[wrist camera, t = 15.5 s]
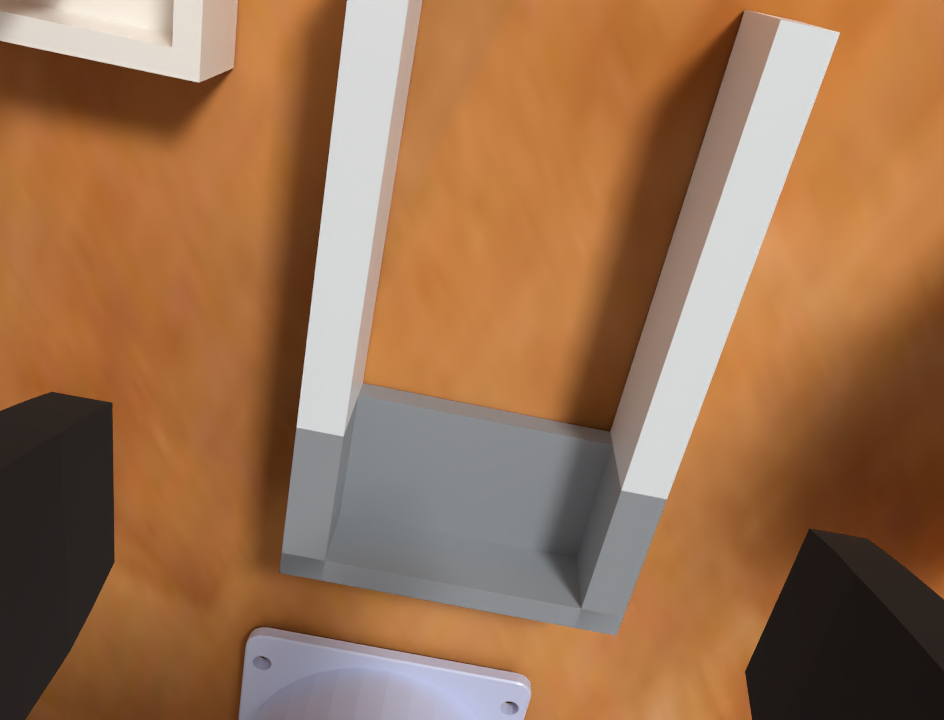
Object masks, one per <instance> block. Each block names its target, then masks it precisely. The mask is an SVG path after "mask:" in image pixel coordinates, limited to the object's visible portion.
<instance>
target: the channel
mask: <svg viewBox="0 0 944 720" xmlns="http://www.w3.org/2000/svg"><path fill="white" fill-rule="evenodd" d="M422 1H423V0H347V6H346V14H345V23H344V31H343V40H342V48H341V56H340V65H339V73H338V82H337V90H336V99H335V107H334V116H333V124H332V132H331V141H330V149H329V158H328V166H327V175H326V183H325V191H324V200H323V208H322V217H321V225H320V234H319V242H318V251H317V259H316V267H315V276H314V284H313V293H312V301H311V310H310V318H309V326H308V335H307V343H306V352H305V360H304V369H303V377H302V386H301V394H300V402H299V411H298V419H297V428H302V429H307V430H312V431H317V432H322V433H327V434H333V435H338V436H343V437H344V434H345V431H346V429H347V426H348V423H349V420H350V417H351V415H352V412H353V409H354V406H355V403H356V401H357V398H358V395H359V392H360V389H361V387H362V384H363V378H364V372H365V365H366V359H367V353H368V346H369V340H370V333H371V327H372V321H373V314H374V308H375V301H376V295H377V289H378V282H379V276H380V269H381V263H382V257H383V250H384V244H385V237H386V231H387V225H388V218H389V212H390V205H391V199H392V193H393V186H394V180H395V173H396V167H397V161H398V154H399V148H400V141H401V135H402V129H403V122H404V116H405V109H406V103H407V97H408V90H409V84H410V77H411V71H412V65H413V58H414V52H415V45H416V39H417V33H418V26H419V20H420V13H421V7H422ZM839 34H840V32H836V31H832V30H829V29H825V28H821V27H818V26H814V25H810V24H806V23H803V22H799V21H795V20H791V19H786V18H782V17H777V16H772V15H768V14H763V13H759V12H754V11H750V10H745V11H744V14H743V18H742V21H741V24H740V27H739V30H738V33H737V36H736V39H735V43H734V46H733V49H732V52H731V55H730V58H729V61H728V65H727V68H726V71H725V74H724V77H723V80H722V83H721V86H720V90H719V93H718V96H717V99H716V102H715V105H714V108H713V112H712V115H711V118H710V121H709V124H708V127H707V130H706V134H705V137H704V140H703V143H702V146H701V149H700V152H699V155H698V159H697V162H696V165H695V168H694V171H693V174H692V177H691V181H690V184H689V187H688V190H687V193H686V196H685V199H684V202H683V206H682V209H681V212H680V215H679V218H678V221H677V224H676V228H675V231H674V234H673V237H672V240H671V243H670V246H669V249H668V253H667V256H666V259H665V262H664V265H663V268H662V271H661V275H660V278H659V281H658V284H657V287H656V290H655V293H654V296H653V300H652V303H651V306H650V309H649V312H648V315H647V318H646V322H645V325H644V328H643V331H642V334H641V337H640V340H639V344H638V347H637V350H636V353H635V356H634V359H633V362H632V365H631V369H630V372H629V375H628V378H627V381H626V384H625V387H624V391H623V394H622V397H621V400H620V403H619V406H618V409H617V412H616V416H615V419H614V422H613V425H612V428H611V431H610V433H611V438H612V443H613V449H614V454H615V459H616V465H617V470H618V475H619V481H620V486H621V491H627V492H632V493H637V494H642V495H647V496H652V497H658V498H663V499H667V498H668V495H669V492H670V490H671V487H672V484H673V482H674V479H675V476H676V473H677V471H678V468H679V465H680V463H681V460H682V457H683V455H684V452H685V449H686V447H687V444H688V441H689V438H690V436H691V433H692V430H693V428H694V425H695V422H696V420H697V417H698V414H699V411H700V409H701V406H702V403H703V401H704V398H705V395H706V393H707V390H708V387H709V385H710V382H711V379H712V376H713V374H714V371H715V368H716V366H717V363H718V360H719V358H720V355H721V352H722V350H723V347H724V344H725V341H726V339H727V336H728V333H729V331H730V328H731V325H732V323H733V320H734V317H735V315H736V312H737V309H738V306H739V304H740V301H741V298H742V296H743V293H744V290H745V288H746V285H747V282H748V279H749V277H750V274H751V271H752V269H753V266H754V263H755V261H756V258H757V255H758V253H759V250H760V247H761V244H762V242H763V239H764V236H765V234H766V231H767V228H768V226H769V223H770V220H771V218H772V215H773V212H774V209H775V207H776V204H777V201H778V199H779V196H780V193H781V191H782V188H783V185H784V182H785V180H786V177H787V174H788V172H789V169H790V166H791V164H792V161H793V158H794V156H795V153H796V150H797V147H798V145H799V142H800V139H801V137H802V134H803V131H804V129H805V126H806V123H807V121H808V118H809V115H810V112H811V110H812V107H813V104H814V102H815V99H816V96H817V94H818V91H819V88H820V85H821V83H822V80H823V77H824V75H825V72H826V69H827V67H828V64H829V61H830V59H831V56H832V53H833V50H834V48H835V45H836V42H837V40H838V37H839Z"/></svg>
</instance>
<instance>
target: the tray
mask: <svg viewBox="0 0 944 720" xmlns="http://www.w3.org/2000/svg"><path fill="white" fill-rule="evenodd" d="M237 8H238V0H0V41H4V42H8V43H13V44H18V45H23V46H27V47H32V48H37V49H42V50H46V51H51V52H56V53H61V54H65V55H70V56H75V57H80V58H84V59H89V60H94V61H99V62H103V63H108V64H113V65H118V66H122V67H127V68H132V69H137V70H142V71H146V72H151V73H156V74H161V75H165V76H170V77H175V78H180V79H184V80H189V81H194V82H199V83H200V82H202V81H204V80H207V79H209V78H211V77H214V76H216V75H218V74H221V73H223V72H225V71H228V70H230V69H232V68H234V55H235V39H236V24H237Z"/></svg>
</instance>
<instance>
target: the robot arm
mask: <svg viewBox="0 0 944 720" xmlns="http://www.w3.org/2000/svg"><path fill="white" fill-rule="evenodd" d="M113 564H114V493H113V419H112V403H110V402H105V401H99V400H94V399H88V398H83V397H77V396H72V395H66V394H60V393H55V392H50V393H47V394H44V395H41V396H38V397H35V398H32V399H30V400H27V401H24V402H22V403H19V404H17V405H14V406H12V407H9V408H7V409H4V410H2V411H0V720H25V719H26V717H27V716H28V714H29V713H30V711H31V710H32V708H33V707H34V705H35V704H36V702H37V701H38V699H39V698H40V696H41V695H42V693H43V692H44V690H45V689H46V687H47V685H48V684H49V682H50V681H51V679H52V678H53V676H54V675H55V673H56V672H57V670H58V669H59V667H60V666H61V664H62V663H63V661H64V659H65V658H66V656H67V655H68V653H69V652H70V650H71V648H72V646H73V644H74V642H75V641H76V639H77V637H78V635H79V633H80V631H81V629H82V627H83V625H84V623H85V621H86V619H87V617H88V615H89V613H90V611H91V610H92V607H93V605H94V603H95V601H96V599H97V597H98V595H99V593H100V591H101V589H102V587H103V585H104V583H105V580H106V578H107V576H108V574H109V572H110V570H111V568H112V566H113ZM260 656H263V657H266V658H268V659H263V658H261V657H260ZM745 673H746V680H747V687H748V694H749V701H750V708H751V714H752V720H944V600H943V599H942V598H941V597H940V596H939V595H938V594H936V593H935V592H934V591H933V590H932V589H930V588H929V587H928V586H927V585H926V584H924V583H923V582H922V581H921V580H920V579H918V578H917V577H916V576H915V575H914V574H913V573H911V572H910V571H909V570H908V569H906V568H905V567H904V566H903V565H901V564H900V563H899V562H898V561H896V560H895V559H894V558H892V557H891V556H890V555H889V554H887V553H886V552H885V551H883V550H882V549H881V548H879V547H878V546H876V545H875V544H874V543H872V542H871V541H869V540H868V539H865V538H859V537H854V536H848V535H843V534H837V533H832V532H826V531H821V530H815V529H809V531H808V533H807V535H806V538H805V540H804V542H803V544H802V547H801V549H800V551H799V553H798V555H797V558H796V560H795V562H794V564H793V566H792V569H791V571H790V573H789V575H788V578H787V580H786V582H785V584H784V586H783V589H782V591H781V593H780V595H779V598H778V600H777V602H776V604H775V606H774V609H773V611H772V613H771V615H770V618H769V620H768V622H767V624H766V626H765V629H764V631H763V633H762V635H761V637H760V640H759V642H758V644H757V646H756V649H755V651H754V653H753V655H752V657H751V660H750V662H749V664H748V666H747V669H746V671H745ZM530 698H531V683H530V681H529V679H528V678H526V677H525V676H524V675H521V674H518V673H514V672H508V671H503V670H497V669H492V668H487V667H481V666H476V665H470V664H465V663H459V662H454V661H448V660H443V659H437V658H432V657H427V656H421V655H416V654H410V653H405V652H399V651H394V650H388V649H383V648H378V647H372V646H367V645H361V644H356V643H350V642H345V641H339V640H334V639H329V638H323V637H318V636H312V635H307V634H301V633H296V632H290V631H285V630H279V629H274V628H268V627H261V628H257V629H255V630H253V631H252V632H251V633H250V636H249V639H248V641H247V644H246V648H245V658H244V668H243V678H242V688H241V698H240V708H239V718H238V720H524V717H525V714H526V711H527V708H528V705H529V701H530ZM506 702H514V703H506Z"/></svg>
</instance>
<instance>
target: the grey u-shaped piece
mask: <svg viewBox="0 0 944 720" xmlns="http://www.w3.org/2000/svg"><path fill="white" fill-rule="evenodd" d="M666 500H667V499H663V498H658V497H652V496H647V495H642V494H637V493H632V492H627V491H621V486H620V481H619V475H618V470H617V465H616V459H615V454H614V449H613V443H612V438H611V433H610V432H609V431H604V430H599V429H594V428H589V427H583V426H578V425H573V424H568V423H563V422H558V421H553V420H548V419H543V418H538V417H533V416H528V415H522V414H517V413H512V412H507V411H502V410H497V409H492V408H487V407H482V406H477V405H472V404H467V403H462V402H456V401H451V400H446V399H441V398H436V397H431V396H426V395H421V394H416V393H411V392H406V391H401V390H395V389H390V388H385V387H380V386H375V385H370V384H365V383H363V384H362V387H361V389H360V392H359V395H358V398H357V401H356V403H355V406H354V409H353V412H352V415H351V417H350V420H349V423H348V426H347V429H346V431H345V434H344V437H343V436H338V435H333V434H327V433H322V432H317V431H312V430H307V429H302V428H296V436H295V445H294V453H293V462H292V470H291V478H290V487H289V495H288V504H287V512H286V521H285V529H284V537H283V546H282V554H281V563H280V571H279V573H283V574H289V575H294V576H299V577H305V578H310V579H315V580H321V581H326V582H332V583H337V584H342V585H348V586H353V587H358V588H364V589H369V590H375V591H380V592H385V593H391V594H396V595H401V596H407V597H412V598H417V599H423V600H428V601H434V602H439V603H444V604H450V605H455V606H460V607H466V608H471V609H476V610H482V611H487V612H493V613H498V614H503V615H509V616H514V617H519V618H525V619H530V620H535V621H541V622H546V623H552V624H557V625H562V626H568V627H573V628H578V629H584V630H589V631H594V632H600V633H605V634H611V635H617V632H618V630H619V627H620V624H621V622H622V619H623V616H624V614H625V611H626V608H627V605H628V603H629V600H630V597H631V595H632V592H633V589H634V587H635V584H636V581H637V579H638V576H639V573H640V570H641V568H642V565H643V562H644V560H645V557H646V554H647V552H648V549H649V546H650V544H651V541H652V538H653V535H654V533H655V530H656V527H657V525H658V522H659V519H660V517H661V514H662V511H663V508H664V506H665V503H666Z"/></svg>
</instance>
